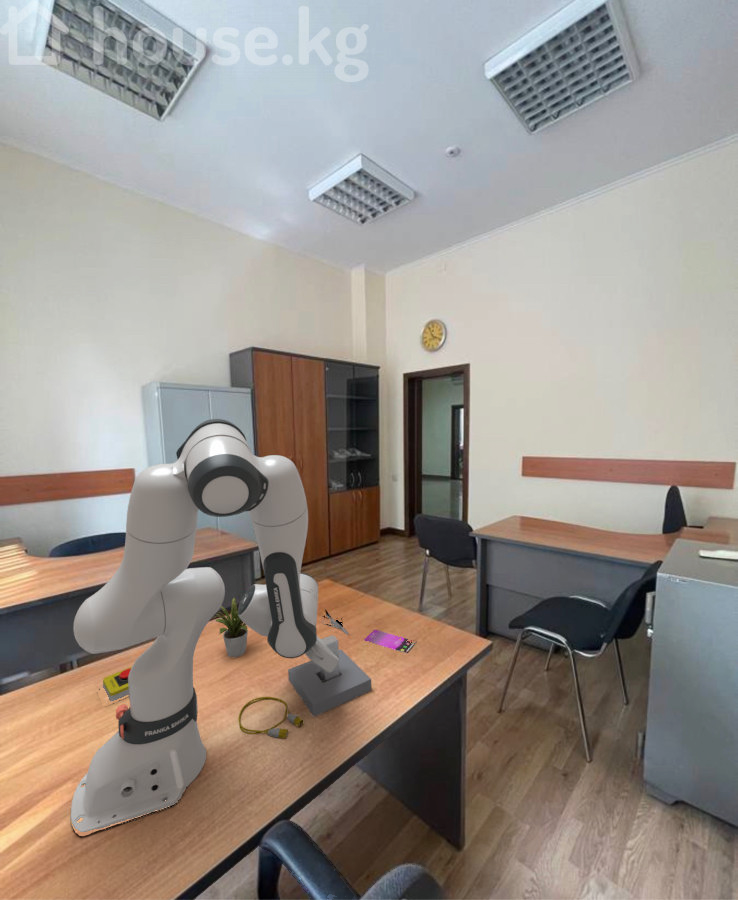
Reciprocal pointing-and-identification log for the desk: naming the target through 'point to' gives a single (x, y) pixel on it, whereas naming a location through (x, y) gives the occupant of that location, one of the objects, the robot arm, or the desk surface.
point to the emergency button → (117, 684)
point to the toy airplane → (336, 623)
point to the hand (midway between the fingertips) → (331, 656)
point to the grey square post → (333, 646)
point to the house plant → (233, 631)
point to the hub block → (328, 684)
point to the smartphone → (390, 641)
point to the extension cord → (276, 731)
